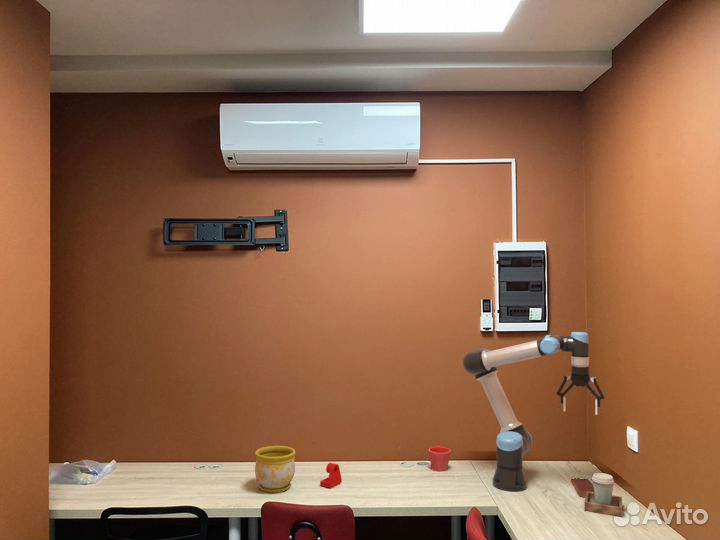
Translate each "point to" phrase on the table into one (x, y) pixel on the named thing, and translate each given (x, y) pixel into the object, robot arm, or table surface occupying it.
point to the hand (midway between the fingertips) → (580, 412)
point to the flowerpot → (274, 468)
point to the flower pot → (439, 458)
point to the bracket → (332, 476)
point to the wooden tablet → (582, 486)
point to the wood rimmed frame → (603, 509)
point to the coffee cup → (603, 488)
